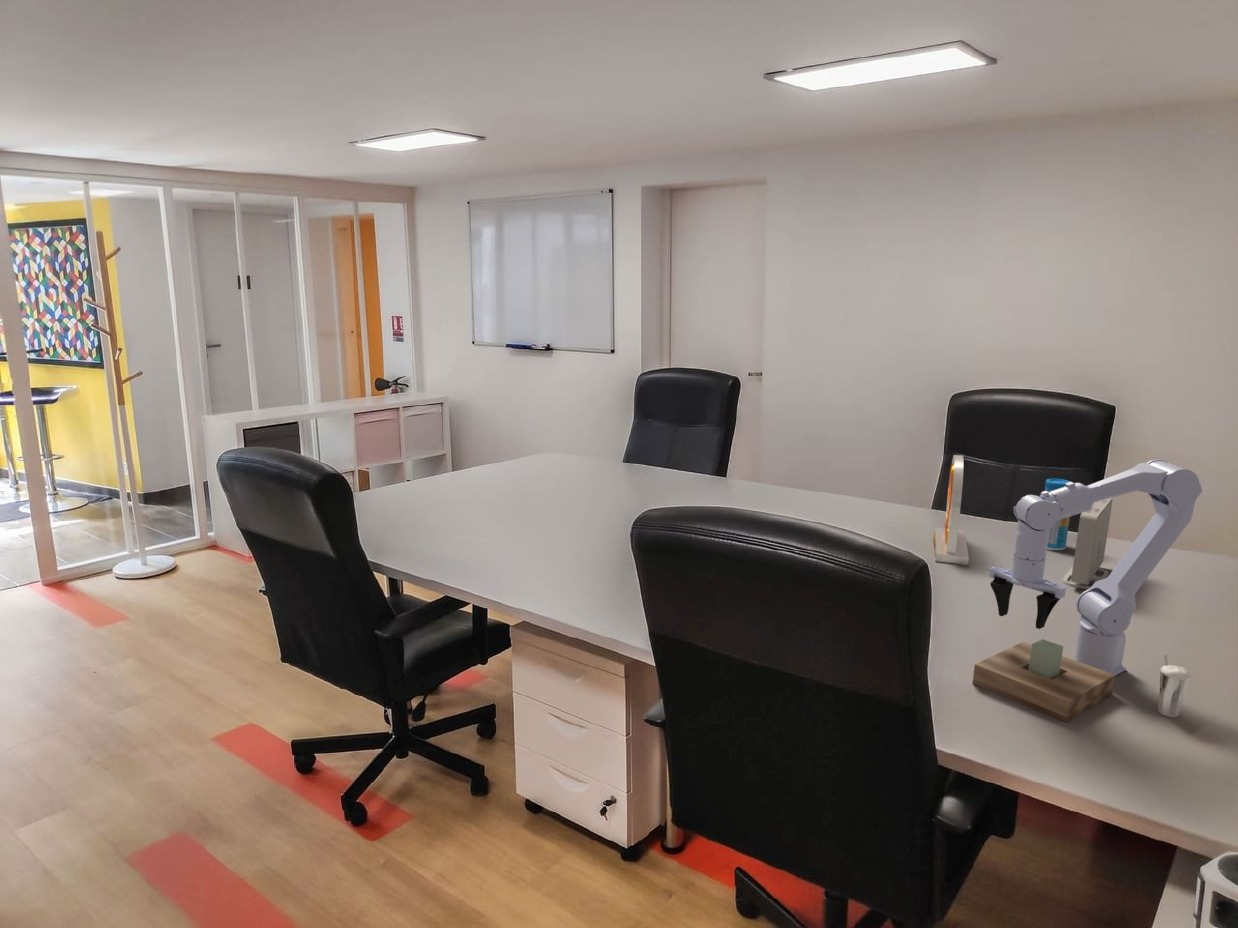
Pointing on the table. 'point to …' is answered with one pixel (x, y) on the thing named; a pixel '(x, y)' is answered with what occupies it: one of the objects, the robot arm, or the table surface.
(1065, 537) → the beverage bottle
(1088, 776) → the table surface
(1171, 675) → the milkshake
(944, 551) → the award
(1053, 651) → the peg
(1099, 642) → the robot arm
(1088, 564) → the network device
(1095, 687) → the socket block
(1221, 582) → the table surface
